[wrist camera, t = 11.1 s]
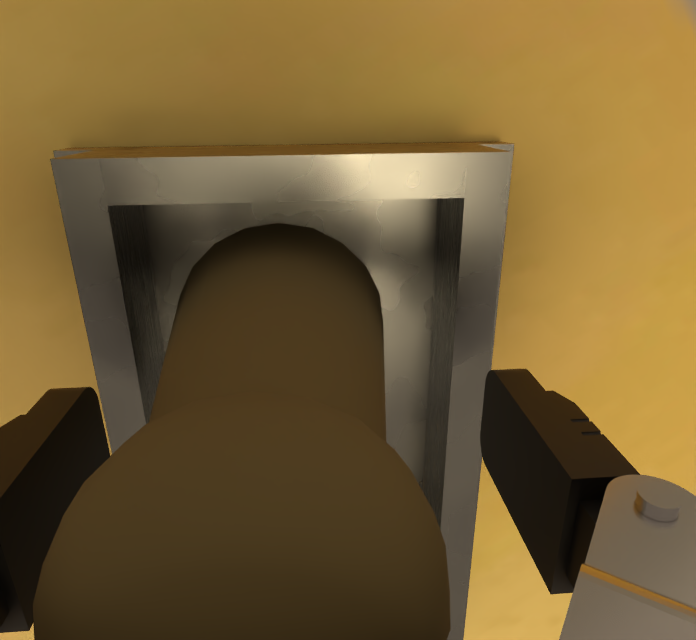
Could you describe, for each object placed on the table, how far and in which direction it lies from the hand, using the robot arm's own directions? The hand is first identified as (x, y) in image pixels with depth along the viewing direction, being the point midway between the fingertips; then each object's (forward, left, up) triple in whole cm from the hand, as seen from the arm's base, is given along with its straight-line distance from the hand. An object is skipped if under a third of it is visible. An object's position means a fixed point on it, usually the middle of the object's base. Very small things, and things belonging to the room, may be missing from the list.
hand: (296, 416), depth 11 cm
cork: (0, 0, -5) cm, 5 cm away
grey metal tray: (0, -5, -6) cm, 8 cm away
